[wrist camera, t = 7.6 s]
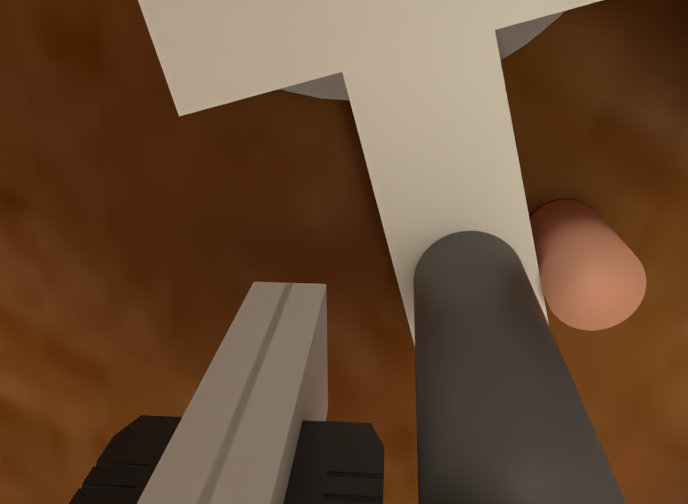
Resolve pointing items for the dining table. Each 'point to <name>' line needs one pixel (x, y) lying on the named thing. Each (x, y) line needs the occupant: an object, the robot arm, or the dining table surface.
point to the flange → (427, 217)
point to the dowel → (585, 266)
